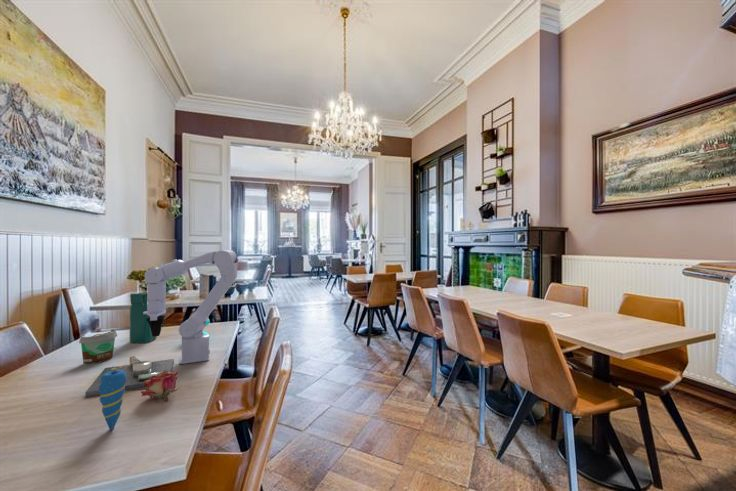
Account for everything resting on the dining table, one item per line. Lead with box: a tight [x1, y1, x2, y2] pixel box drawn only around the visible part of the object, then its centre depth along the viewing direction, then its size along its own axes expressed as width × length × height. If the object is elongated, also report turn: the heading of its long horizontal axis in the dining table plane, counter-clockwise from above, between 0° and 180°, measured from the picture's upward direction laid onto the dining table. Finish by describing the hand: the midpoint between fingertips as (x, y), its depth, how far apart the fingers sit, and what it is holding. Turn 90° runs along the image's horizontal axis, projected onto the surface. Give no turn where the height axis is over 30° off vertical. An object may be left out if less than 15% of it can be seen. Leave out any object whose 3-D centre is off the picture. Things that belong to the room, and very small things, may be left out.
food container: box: [78, 328, 118, 365], centre depth 121 cm, size 12×6×10 cm, turn 168°
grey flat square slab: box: [84, 358, 175, 398], centre depth 105 cm, size 20×20×3 cm
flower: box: [140, 370, 179, 402], centre depth 91 cm, size 10×9×8 cm
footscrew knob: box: [129, 355, 153, 376], centre depth 108 cm, size 14×5×3 cm, turn 51°
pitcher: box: [128, 291, 158, 344], centre depth 145 cm, size 10×8×22 cm
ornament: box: [98, 365, 127, 430], centre depth 76 cm, size 5×5×15 cm
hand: (156, 335), depth 120 cm, fingers closed
